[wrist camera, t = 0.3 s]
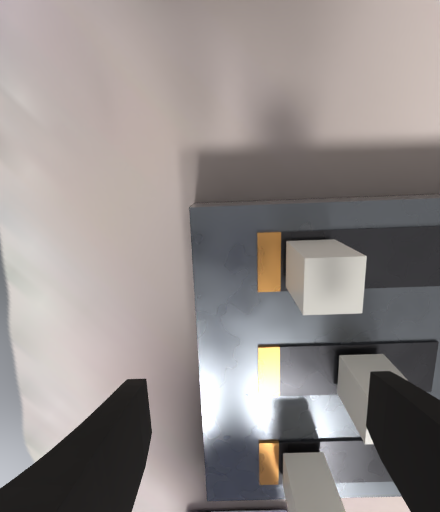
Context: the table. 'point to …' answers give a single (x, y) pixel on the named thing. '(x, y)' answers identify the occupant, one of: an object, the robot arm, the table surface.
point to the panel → (305, 334)
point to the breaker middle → (360, 386)
